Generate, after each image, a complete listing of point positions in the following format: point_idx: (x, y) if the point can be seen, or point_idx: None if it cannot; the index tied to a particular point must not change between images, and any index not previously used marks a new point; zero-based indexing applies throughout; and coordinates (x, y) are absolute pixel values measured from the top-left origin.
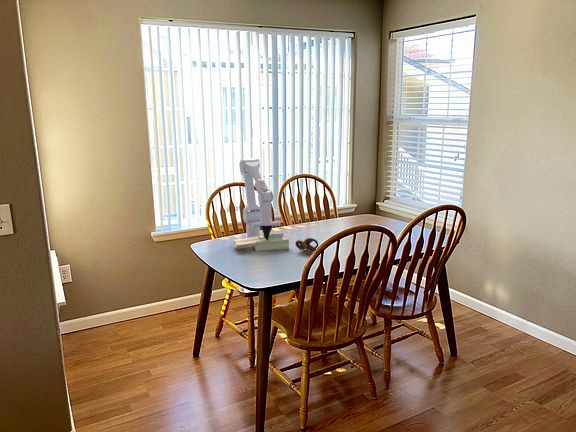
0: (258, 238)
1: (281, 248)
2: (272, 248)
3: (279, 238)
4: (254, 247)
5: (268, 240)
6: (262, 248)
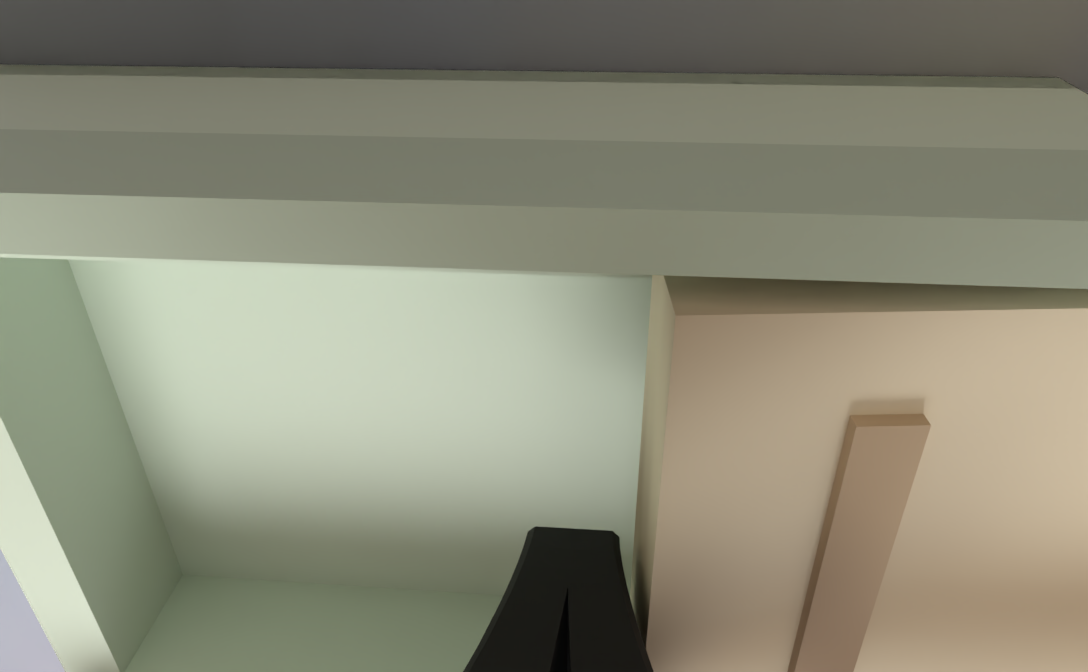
0: (878, 653)
1: (167, 78)
2: (470, 89)
3: (186, 658)
4: None
5: None
6: (853, 104)
